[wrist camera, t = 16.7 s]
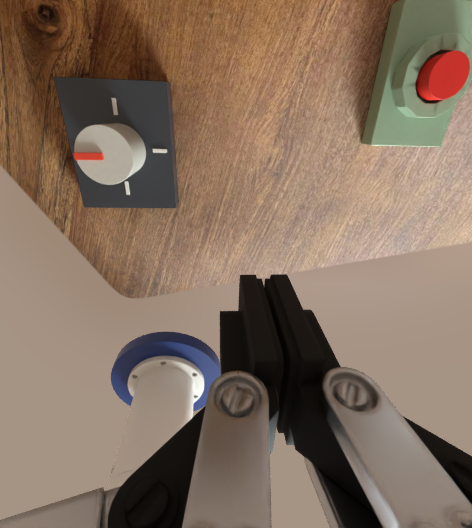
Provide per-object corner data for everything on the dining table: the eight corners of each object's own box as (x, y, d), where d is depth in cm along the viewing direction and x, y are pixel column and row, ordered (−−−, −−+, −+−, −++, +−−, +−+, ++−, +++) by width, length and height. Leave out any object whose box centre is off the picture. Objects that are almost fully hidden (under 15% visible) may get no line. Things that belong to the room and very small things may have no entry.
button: (446, 101, 27) (460, 100, 25) (410, 99, 27) (422, 98, 25) (461, 55, 25) (477, 51, 24) (423, 53, 25) (437, 49, 23)
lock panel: (178, 202, 33) (176, 208, 31) (92, 201, 33) (83, 208, 30) (170, 83, 28) (166, 80, 25) (66, 79, 27) (52, 76, 25)
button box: (427, 145, 32) (453, 148, 29) (360, 143, 32) (379, 146, 28) (471, 9, 27) (510, -7, 23) (391, 4, 26) (419, -14, 22)
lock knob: (142, 123, 27) (127, 125, 22) (149, 174, 29) (136, 185, 24) (91, 122, 27) (65, 124, 22) (102, 174, 29) (80, 185, 24)
